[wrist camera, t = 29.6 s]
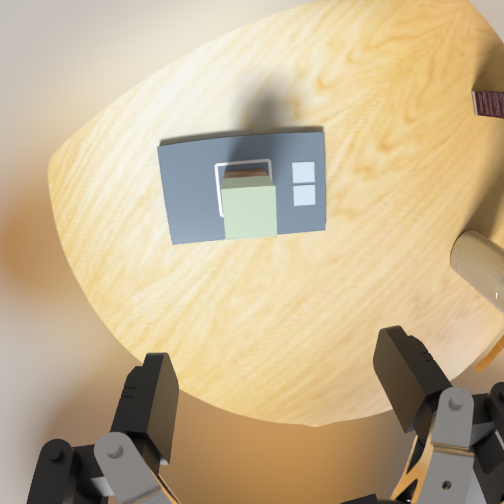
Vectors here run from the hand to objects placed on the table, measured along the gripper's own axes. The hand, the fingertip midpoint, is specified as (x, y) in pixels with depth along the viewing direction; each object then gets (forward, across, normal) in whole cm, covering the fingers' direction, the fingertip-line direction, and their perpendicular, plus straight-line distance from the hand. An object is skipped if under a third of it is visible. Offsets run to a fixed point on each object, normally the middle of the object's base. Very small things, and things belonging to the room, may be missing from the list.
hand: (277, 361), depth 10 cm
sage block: (+25, 0, 0) cm, 25 cm away
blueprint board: (+32, 0, 0) cm, 32 cm away
